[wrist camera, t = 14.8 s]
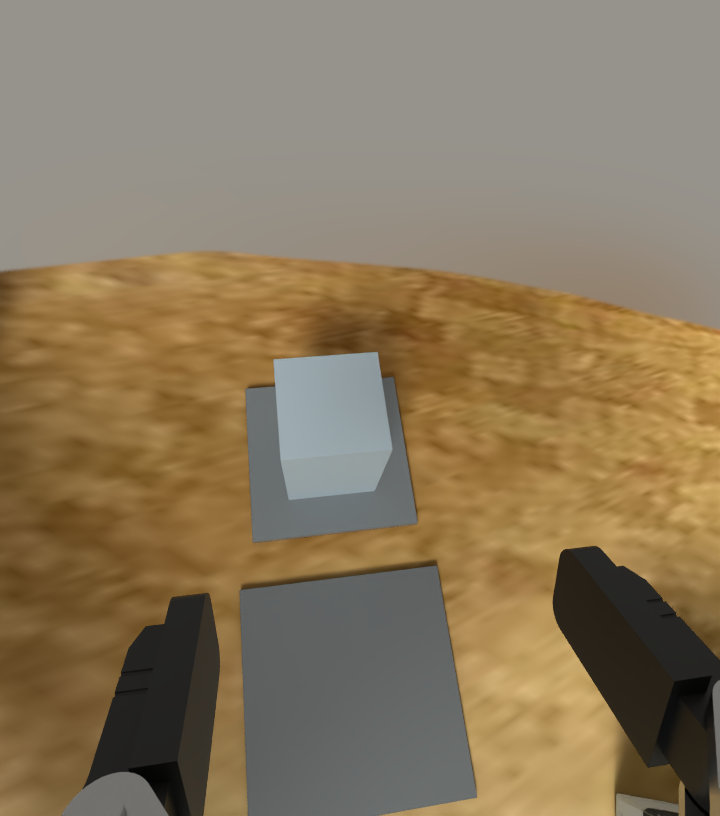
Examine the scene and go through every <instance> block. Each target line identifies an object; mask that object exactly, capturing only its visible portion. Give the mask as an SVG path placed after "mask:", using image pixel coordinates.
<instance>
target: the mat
mask: <svg viewBox="0 0 720 816" xmlns="http://www.w3.org/2000/svg"><path fill="white" fill-rule="evenodd" d="M240 614H241V640H242V667H243V693H244V720H245V746H246V773H247V799H248V816H378V815H383V814H389V813H394V812H400V811H405V810H411V809H416V808H422V807H427V806H433V805H438V804H444V803H449V802H455V801H460V800H466V799H471V798H477V794H476V788H475V782H474V776H473V771H472V765H471V759H470V753H469V747H468V742H467V736H466V730H465V724H464V719H463V713H462V707H461V701H460V696H459V690H458V684H457V678H456V673H455V667H454V661H453V655H452V649H451V644H450V638H449V632H448V626H447V621H446V615H445V609H444V603H443V598H442V592H441V586H440V580H439V575H438V569H437V566H429V567H421V568H413V569H405V570H397V571H389V572H381V573H373V574H365V575H357V576H349V577H341V578H333V579H325V580H317V581H309V582H301V583H293V584H285V585H277V586H269V587H261V588H253V589H245V590H240Z"/></svg>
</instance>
